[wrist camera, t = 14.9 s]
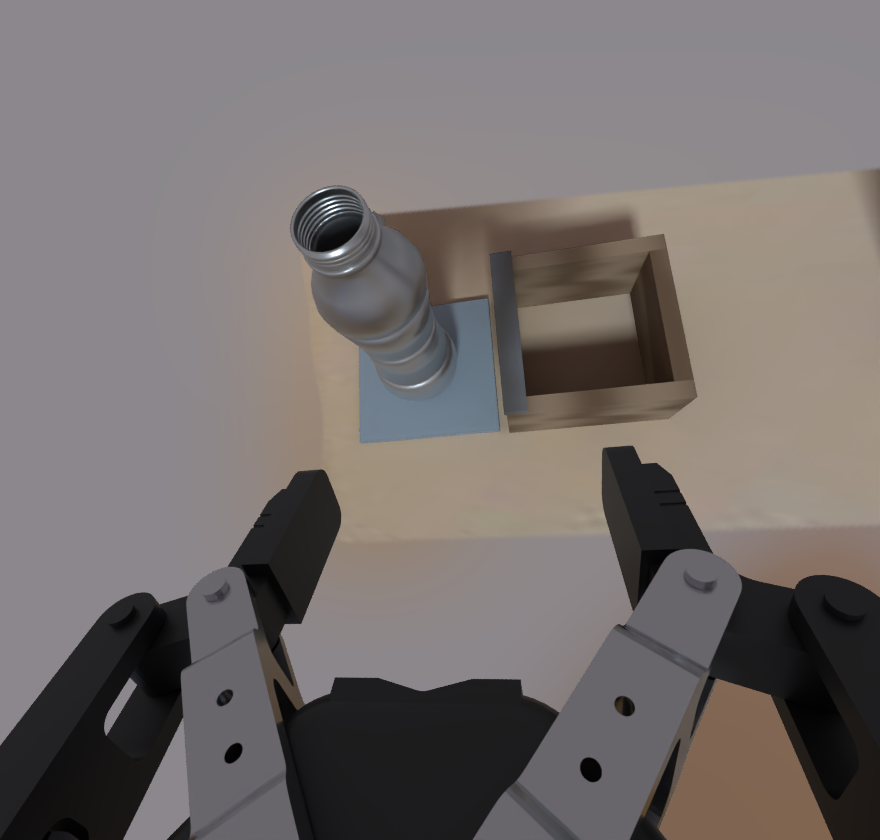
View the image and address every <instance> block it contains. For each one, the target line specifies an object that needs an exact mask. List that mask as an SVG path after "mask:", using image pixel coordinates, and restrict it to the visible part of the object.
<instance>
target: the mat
mask: <svg viewBox="0 0 880 840" xmlns="http://www.w3.org/2000/svg"><path fill="white" fill-rule="evenodd" d="M431 307H432V311H433V313H434V317H435V318H436V320H437V321H438V323H439V325H440V326H441V327H442V328H443V329H444V330H445V331H446V333H447V334H448V335H449V337H450V338H451V339H452V341H453V343H454V345H455V348H456V352H457V366H456V371H455V375H454V377H453V380H452V381H451V383H450V384H449V386H448V387H447V388H446V389H445V390H444V391H443V392H442V393H440V394H439V395H438V396H436V397H434V398H432V399H429V400H425V401H418V402H415V401H408V400H405V399H402V398H400V397H397V396H396V395H394V394H392V393H391V392H389V391H388V390H387V389H386V388H385V386H384V385H383V384H382V382H381V380H380V378H379V376H378V373H377V371H376V368H375V365H374V364H373V362H372V360H371V359H370V357H369V356H368V355H367V354H366V353H365V352H364V351H363V350H362V349H361V348H360V347H359V386H360V443H362V444H363V443H374V442H385V441H396V440H407V439H419V438H430V437H441V436H452V435H464V434H475V433H486V432H497V431H500V428H499V417H498V405H497V394H496V382H495V371H494V359H493V348H492V337H491V325H490V314H489V302H488V298H486V299H479V300H472V301H464V302H457V303H450V304H442V305H435V306H431Z"/></svg>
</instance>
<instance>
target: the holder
mask: <svg viewBox="0 0 880 840" xmlns="http://www.w3.org/2000/svg"><path fill="white" fill-rule="evenodd" d="M490 264H491V275H492V286H493V297H494V308H495V319H496V330H497V341H498V352H499V363H500V374H501V385H502V396H503V407H504V415H507V416H508V424H509V432H510V433H513V432H524V431H535V430H547V429H558V428H569V427H581V426H592V425H603V424H615V423H626V422H637V421H649V420H660V419H669V418H670V417H672V416H673V415H674V414H676V413H677V412H678V411H679V410H681V409H682V408H683V407H685V406H686V405H687V404H689V403H690V402H691V401H693V400H694V399H695V398H696V397H697V393H696V388H695V383H694V378H693V374H692V369H691V364H690V359H689V354H688V349H687V344H686V339H685V334H684V330H683V325H682V320H681V315H680V310H679V305H678V300H677V295H676V290H675V286H674V281H673V276H672V271H671V266H670V261H669V256H668V251H667V246H666V242H665V237H664V234H660V235H654V236H647V237H640V238H634V239H627V240H621V241H614V242H607V243H601V244H594V245H587V246H581V247H574V248H567V249H561V250H554V251H547V252H541V253H534V254H527V255H521V256H514V257H512V256H511V251H505V252H499V253H492V254H490ZM627 293H630V295H631V301H632V306H633V312H634V318H635V323H636V329H637V335H638V340H639V346H640V352H641V357H642V363H643V369H644V375H645V380H646V385H636V386H626V387H616V388H606V389H596V390H586V391H576V392H566V393H556V394H546V395H536V396H526V389H525V380H524V370H523V361H522V351H521V342H520V332H519V322H518V313H517V308H521V307H528V306H536V305H543V304H551V303H559V302H566V301H574V300H581V299H589V298H596V297H604V296H612V295H619V294H627Z"/></svg>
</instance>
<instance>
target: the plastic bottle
mask: <svg viewBox="0 0 880 840" xmlns="http://www.w3.org/2000/svg"><path fill="white" fill-rule="evenodd" d="M290 232H291V237H292V239H293V242H294V244H295V245H296V247H297V248H298V249H299V251H300V252H301V253H302V254H303V256H304V258H305V260H306V262H307V263H308V264H309V266H310V267H311V268H312V269H313V271H312V280H311V288H312V294H313V298H314V301H315V304H316V307H317V309H318V312H319V314H320V315H321V316H322V318H323V319H324V321H326V322H327V323H328V324H329V325H330V326H331V327H332V328H334V329H335V330H336V331H337V332H338V333H340V334H341V335H343V336H344V337H346V338H347V339H349V340H350V341H352V342H353V343H355V344H356V345H358V346H359V347H360V348H361V349H362V350H363V351H364V352H365V353H366V354H367V355H368V356H369V357H370V359H371V360H372V362H373V364H374V365H375V368H376V371H377V373H378V376H379V378H380V380H381V382H382V384H383V385H384V386H385V388H386V389H387V390H388V391H389V392H391V393H392V394H394V395H396V396H397V397H400V398H402V399H405V400H408V401H415V402H418V401H425V400H429V399H432V398H434V397H436V396H438V395H439V394H440V393H442V392H443V391H444V390H445V389H446V388H447V387H448V386H449V384H450V383H451V381H452V380H453V377H454V375H455V371H456V366H457V352H456V348H455V345H454V343H453V341H452V339H451V338H450V337H449V335H448V334H447V333H446V331H445V330H444V329H443V328H442V327H441V326H440V325H439V323H438V321H437V320H436V318H435V317H434V313H433V311H432V307H431V303H430V298H429V289H428V280H427V274H426V269H425V265H424V261H423V258H422V256H421V254H420V252H419V250H418V249H417V248H416V247H415V246H414V244H413V243H412V242H411V241H410V240H409V239H408V238H406V237H405V236H404V235H403V234H401V233H400V232H399V231H397V230H394V229H392V228H390V227H386V226H382V225H379V223H378V221H377V219H376V217H375V215H374V214H373V213H372V212H371V211H370V210H369V208H368V206H367V204H366V202H365V200H364V199H363V198H362V197H361V195H360V194H359V193H358V192H356V191H355V190H354V189H351V188H349V187H346V186H329V187H325V188H322V189H319V190H317V191H315V192H313V193H312V194H310V195H309V196H307V197H306V198H305V199H304V200H303V201H302V202H301V203H300V204H299V206H298V207H297V208H296V210H295V212H294V214H293V216H292V220H291V224H290Z"/></svg>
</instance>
